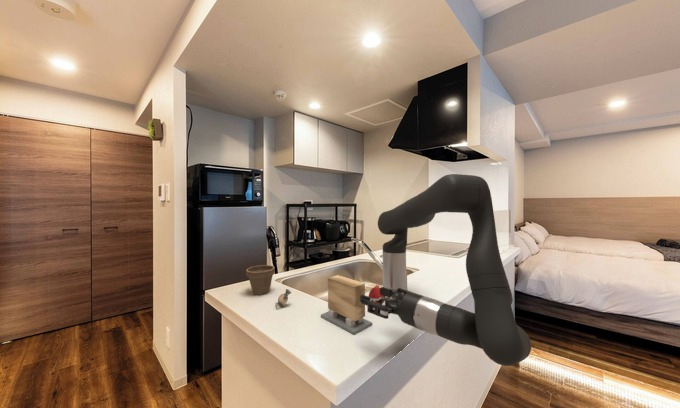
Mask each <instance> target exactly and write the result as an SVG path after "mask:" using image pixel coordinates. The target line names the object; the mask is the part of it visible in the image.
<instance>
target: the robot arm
mask: <svg viewBox="0 0 680 408" xmlns="http://www.w3.org/2000/svg"><path fill="white" fill-rule="evenodd" d="M490 190H491V189H490V186H489V184H488V182H487V181H486V180H485V179H484V178H483V177H481V176H479V175H471V174H459V173H451V174H450V173H449V174H445V175H443V176H441V177H440V178H438V180H436V181H435V182H434V183H432V184H431V185H430V186H429V187H428V188H426V189H424V191H421V192H420V193H419V194H417V195H415V196H414V197H411V198H410V199H408V200H406V201H404V202H402V203H401V204H399V205H398V206H395V207H394V208H392V209H390V210H386V211H383V212H382V213H380V215H379V216H378V219H377V228H378V229H379V232H380V233H381V234H383V235H386V236H387V235H388V236H389V235H390V236H391V235H394V237H393V238H391V239H390V240H388V241H387V242H384V243H383V245H382V286H381V287H379V288H380V294H381V295H383V296H385V297H380V298H379V299H374V298H371V297H369V295H366V294H365V295H361V296H360V302H361V303H362V304H364V305H365V306H367V307H366V308H367V311H366V312H367V313H370V314H372V315H373V316H377V317H379V318H383V319H386V320H388V319H389V315H390V314H393V315H397V317H399V319H400V321H401V322H402V323H403V324H406V325H408V326H410V327H413V328H414V329H415V328H416V329H418V330H420V331H423V332H424V333H428V334H429V335H430V334H431V335H434V336H437V337H440V338H443V339H446V340H448V341H450V342H453V343H456V344H458V345H459V344H460V345H464V346H466V345H467V346H472V347H475V348H479V349H481V350H482V351H483V352H484V354H485V356H487V357H488V359H490V361H492V362H494V363H495V364H497V365H501V366H504V367H505V366H506V367H511V366H515V365H517V364H519V363H521V362H523V361H524V360H526V359H527V358H528V357H529V356H530V354H531V351H532V342H531V339H530V337H529V335H528V333H526V331H525V330H524V329H523V328H522V327H521V326H519V325H518V324H517V322H516V318H515V315H514V311H513V308H512V304H513V301H514V300H513V293H512V288H511V286H510V284H509V280H508V278H507V277H508V276H507V274H506V271H505V268H504V265H503V261H502V258H501V253H500V249H499V244H498V237H497V228H496V222H495V220H496V219H495V213H494V206H493V199H492V198H493V197H492V195H491V194H492V193H491V191H490ZM441 213H459V214H460V213H462V214H468V216H469V219H470V222H471V226H472V235H471V240H470V243H469V246H468V249H467V253H466V257H465V270H466V275H467V278H468V282H469V288H470V291H471V295H472V297H473V301H474V306H473V307H474V312H472V311H470V310H466V309H464V308H461V307H458V306H454V305H451V304H448V303H446V302H443V301H440V300H438V299H435V298H433V297H429V296H425V295H421V294H419V293H416V292H413V291H410V290H408V269H407V246H408V231H409V229H413V228H418V227H422V226H424V225H427V224H429V223H431V222H432V220H434V218H435V217H436V214H441ZM383 301H384V304H382V302H383ZM375 302H379V304H378V303H375Z"/></svg>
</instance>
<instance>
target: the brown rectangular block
mask: <svg viewBox="0 0 680 408" xmlns="http://www.w3.org/2000/svg"><path fill="white" fill-rule="evenodd" d="M361 295H365V296H366V284H365V282H362V281H358V280H355V279H351V278H349V277H345V276H342V275H338V274H336V275H334V276H329V277H328V278H327V309H328V310H329V309H330V310H332V311H334V312H337V313H339V314H341V315H343V316H345V317H347V318H349V319H351V320H353V321H357V320H359V319H361V318H363V319H364V318H365V317H366V305H364V304H362V303H361V302H360V296H361Z"/></svg>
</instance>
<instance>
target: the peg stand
mask: <svg viewBox="0 0 680 408" xmlns="http://www.w3.org/2000/svg"><path fill="white" fill-rule="evenodd" d="M320 318H321V319H323V320H325V321H327V322H329V323H331V324H333V325H335V326H336V327H338V328H340V329H342V330H344V331H346V332H348V333H349V334H351V335H356V334H359V333H360V332H362V331H364V330H366V329H367V328H369V327H371V326H373V322H372V321H370V320H368V319H366V318H364V317H363V318H361V319H359V320H357V321H353V320H351V319H349V318H347V317H345V316H343V315H341V314H339V313H337V312H334V311H332V310H330V309H328V311H327V312H324V313H321V314H320Z"/></svg>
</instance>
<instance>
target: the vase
mask: <svg viewBox="0 0 680 408" xmlns="http://www.w3.org/2000/svg"><path fill="white" fill-rule="evenodd" d="M290 294H292V291H291V290H289V289H287V288H286V289H285V292H284V293H280V295H279V296H278V298H277V302H275V307H276V310H281V309H282V306H283V305H285V304H286V303H287V302H288V301H289V295H290Z"/></svg>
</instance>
